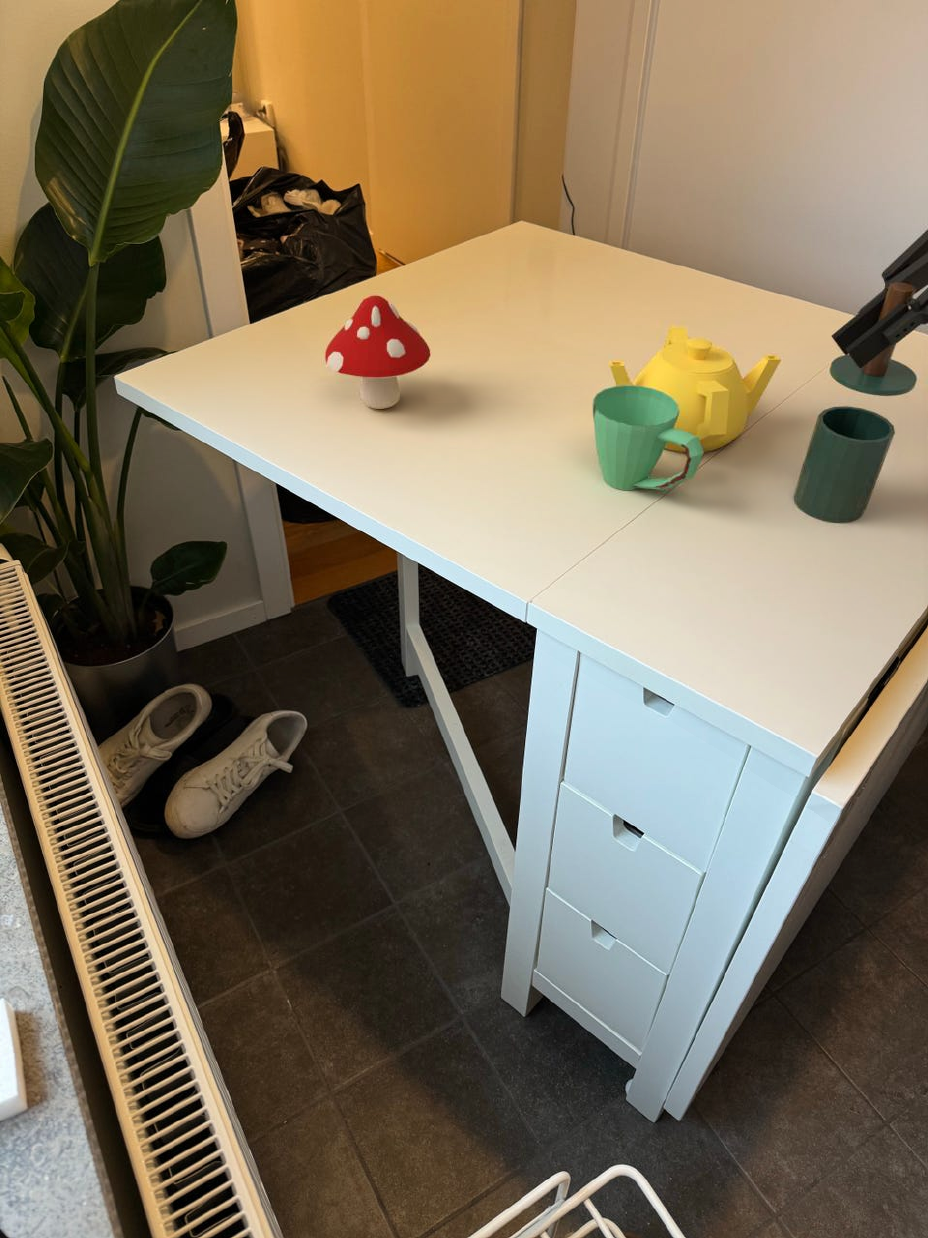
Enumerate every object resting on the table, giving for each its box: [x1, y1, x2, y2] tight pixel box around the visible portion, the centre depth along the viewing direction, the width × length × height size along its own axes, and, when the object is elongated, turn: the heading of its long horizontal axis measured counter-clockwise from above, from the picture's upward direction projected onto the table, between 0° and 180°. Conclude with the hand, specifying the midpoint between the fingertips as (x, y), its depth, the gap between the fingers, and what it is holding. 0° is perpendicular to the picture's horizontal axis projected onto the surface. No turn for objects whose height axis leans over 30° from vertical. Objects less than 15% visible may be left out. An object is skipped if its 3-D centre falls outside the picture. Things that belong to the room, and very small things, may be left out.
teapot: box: [608, 326, 782, 453], centre depth 114 cm, size 17×17×12 cm
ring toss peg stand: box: [829, 282, 918, 397], centre depth 91 cm, size 9×9×10 cm
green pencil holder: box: [793, 405, 896, 524], centre depth 102 cm, size 8×8×10 cm
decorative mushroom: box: [324, 295, 431, 410], centre depth 116 cm, size 14×14×15 cm
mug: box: [591, 385, 704, 491], centre depth 104 cm, size 15×10×10 cm
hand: (846, 351), depth 92 cm, fingers closed on ring toss peg stand, 2 cm apart
